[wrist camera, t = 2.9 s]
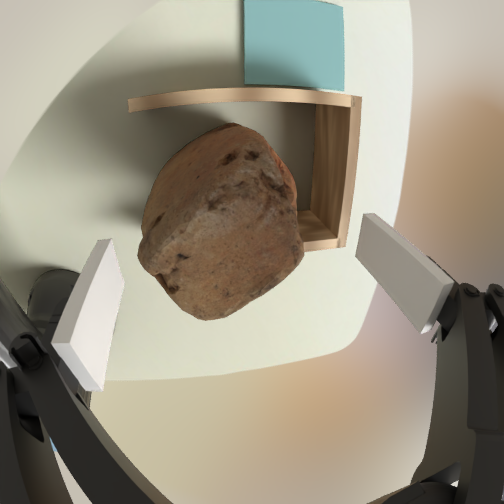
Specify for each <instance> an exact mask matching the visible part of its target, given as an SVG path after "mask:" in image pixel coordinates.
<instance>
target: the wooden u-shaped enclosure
mask: <svg viewBox="0 0 504 504" xmlns="http://www.w3.org/2000/svg"><path fill="white" fill-rule="evenodd" d="M236 101H279V102H301V103H316V113H315V140H314V159H313V176H312V190H311V203H310V210H304V211H297V221H298V226H299V232H300V233H301V235H302V237H303V240H304V252H308V251H316V250H324V249H332V248H340V247H345V246H346V240H347V234H348V228H349V222H350V215H351V208H352V201H353V194H354V186H355V178H356V169H357V159H358V148H359V136H360V122H361V103H362V97H359V96H353V95H346V94H339V93H331V92H323V91H313V90H301V89H285V88H216V89H200V90H189V91H179V92H170V93H162V94H155V95H149V96H142V97H137V98H131V99H128V110H129V113H131V112H136V111H142V110H149V109H155V108H162V107H170V106H179V105H189V104H200V103H214V102H236Z"/></svg>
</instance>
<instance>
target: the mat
mask: <svg viewBox="0 0 504 504" xmlns="http://www.w3.org/2000/svg"><path fill="white" fill-rule="evenodd" d="M244 84H257V85H286V86H301V87H312V88H322V89H330V90H338V91H344V22H343V7H341V6H337V5H333V4H328V3H324V2H319V1H314V0H244Z"/></svg>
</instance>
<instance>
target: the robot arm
mask: <svg viewBox="0 0 504 504" xmlns="http://www.w3.org/2000/svg"><path fill="white" fill-rule="evenodd" d="M355 257H356V258H357V259H358V260H359V261H360V262H361V263H362V265H363V266H364V267H365V268H366V269H367V270H368V271H369V273H370V274H371V275H372V276H373V277H374V278H375V279H376V281H377V282H378V283H379V284H380V285H381V286H382V288H383V289H384V290H385V291H386V292H387V294H388V295H389V296H390V297H391V298H392V299H393V301H394V302H395V303H396V304H397V306H398V307H399V308H400V309H401V311H402V312H403V313H404V314H405V316H406V317H407V318H408V319H409V321H410V322H411V323H412V324H413V326H414V327H415V328H416V329H417V331H418V332H419V333H420V334H422V333H425V332H427V331H430V330H431V329H432V327H433V326H434V324H435V322H436V320H437V321H438V322H439V323H440V325H439V327H438V329H437V331H436V333H435V334H434V336H433V338H432V341H431V342H432V343H433V341H434V340H435V338H437V342H436V344H437V367H436V381H435V392H434V401H433V409H432V416H431V423H430V429H429V434H428V440H427V445H426V449H425V454H424V458H423V460H422V462H421V464H420V465H419V466H418V468H417V469H416V471H415V473H414V475H413V478H412V480H411V483H410V485H408V486H406V487H404V488H401V489H399V490H397V491H395V492H392V493H390V494H387V495H385V496H383V497H381V498H378V499H376V500H374V501H372V502H370V503H367V504H504V289H503V288H502V287H501V286H499V285H497V284H490V285H489V287H488V289H487V291H486V293H485V292H484V293H482V292H480V291H479V290H478V289H477V288H475V287H474V286H473V285H470V284H468V283H462V284H460V285H459V284H458V283H457V282H456V281H455V280H454V279H453V278H452V277H451V276H450V275H449V274H448V273H447V272H446V271H445V270H443V269H441V267H440V266H439V265H438V264H436V262H435V261H433V260H432V259H431V258H430V257H428V256H427V255H425V254H424V253H422V252H421V251H420V250H419V249H418V248H417V247H415V246H414V245H413V244H412V243H411V242H409V241H408V240H407V239H406V238H405V237H403V236H402V235H401V234H400V233H399V232H397V231H396V230H395V229H394V228H392V227H391V226H390V225H389V224H387V223H386V222H385V221H384V220H382V219H381V218H380V217H378V216H377V215H376V214H375V213H369V214H363V218H362V224H361V229H360V235H359V240H358V245H357V250H356V255H355ZM124 286H125V283H124V279H123V276H122V273H121V270H120V267H119V263H118V260H117V256H116V253H115V249H114V246H113V242H112V238H111V239H104V240H98V241H97V243H96V245H95V247H94V248H93V250H92V252H91V254H90V256H89V258H88V260H87V262H86V264H85V266H84V268H83V270H82V272H81V274H78V273H75V272H71V271H67V270H53V271H49V272H46V273H44V274H43V275H41V276H40V277H39V278H38V279H37V281H36V282H35V284H34V286H33V288H32V289H31V292H30V295H29V300H28V310H27V315H26V314H25V312H24V311H23V310H22V308H21V307H20V306H19V304H18V303H17V302H16V300H15V299H14V297H13V296H12V295H11V293H10V292H9V290H8V289H7V287H6V286H5V284H4V283H3V281H2V280H1V278H0V504H73V502H72V499H71V497H70V495H69V492H68V490H67V488H66V485H65V483H64V480H63V478H62V475H61V472H60V469H59V466H58V463H57V461H56V458H55V454H54V451H57V452H58V453H59V455H60V457H61V458H62V460H63V461H64V463H65V465H66V466H67V468H68V469H69V471H70V473H71V474H72V476H73V477H74V479H75V480H76V482H77V483H78V485H79V486H80V487H81V489H82V490H83V492H84V493H85V494H86V496H87V497H88V498H89V500H90V501H91V502H92V504H173V503H172V502H171V501H169V500H168V499H167V498H166V497H165V496H164V495H163V494H162V493H161V492H160V491H159V490H158V489H157V488H156V487H155V486H153V485H152V484H151V483H150V482H149V481H148V479H147V478H146V477H145V476H144V475H143V474H142V473H141V472H140V471H139V470H138V469H137V468H136V467H135V466H134V465H133V463H132V462H131V461H130V460H129V459H128V458H127V457H126V456H125V454H124V453H123V452H122V451H121V450H120V449H119V447H118V446H117V445H116V444H115V442H114V441H113V440H112V439H111V437H110V436H109V435H108V433H107V432H106V431H105V429H104V428H103V427H102V425H101V424H100V423H99V421H98V420H97V418H96V417H95V416H94V414H93V413H92V411H91V410H90V408H89V407H90V400H91V392H92V391H100V392H103V388H104V381H105V375H106V368H107V363H108V357H109V352H110V346H111V341H112V337H113V334H114V329H115V325H116V318H117V314H118V310H119V305H120V301H121V297H122V293H123V290H124ZM495 321H497V323H498V326H497V327H496V329H495V331H494V332H493V333H492V331H491V328H492V326H493V324H494V323H495ZM458 480H459V481H458ZM455 481H458V486H457V487H455V486H452V485H451V484H452V483H453V482H455ZM502 495H503V497H502ZM501 499H502V500H501Z"/></svg>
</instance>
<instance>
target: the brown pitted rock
mask: <svg viewBox="0 0 504 504" xmlns="http://www.w3.org/2000/svg"><path fill="white" fill-rule="evenodd" d="M296 198H297V191H296V185H295V181H294V178H293V176H292V174H291V173H290V171H289V169H288V168H287V166H286V165H285V164H284V162H283V161H282V160H281V159H280V157H279V156H278V155H277V154H276V152H275V151H274V150H273V149H272V148H271V146H270V145H269V144H268V143H267V141H266V140H265V139H264V137H263V136H262V135H260V134H259V133H257V132H256V131H254V130H252V129H249V128H247V127H243V126H241V125H239V124H236V123H228V124H225V125H223V126H221V127H218V128H216V129H214V130H211V131H209V132H207V133H205V134H203V135H201V136H200V137H198V138H196V139H195V140H193V141H192V142H190V143H189V144H187V145H186V146H185V147H183V148H182V149H181V150H180V151H179V152H177V153H176V154H175V155H174V156H173V157H172V158H171V159H170V160H169V161H168V162H167V163H166V164H165V166H164V167H163V168H162V170H161V171H160V173H159V175H158V177H157V179H156V180H155V182H154V184H153V187H152V190H151V193H150V195H149V198H148V200H147V203H146V206H145V210H144V215H143V221H142V225H141V229H142V235H143V238H142V240H141V242H140V244H139V249H138V255H137V256H138V259H139V261H140V264H141V265H142V266H143V268H144V269H145V270H146V271H147V272H148V273H150V274H151V275H152V276H154V277H155V278H156V279H157V281H158V282H159V283H160V284H161V286H162V287H163V288H164V290H165V291H166V293H167V294H168V295H169V297H170V298H171V299H172V300H173V301H174V302H175V303H176V304H177V305H178V306H179V307H180V308H181V309H182V310H183V311H185V312H187V313H189V314H191V315H193V316H194V317H196V318H197V319H200V320H205V321H206V320H215V319H220V318H225V317H227V316H229V315H231V314H232V313H234V312H236V311H238V310H239V309H241V308H243V307H244V306H245V305H247V304H248V303H249V302H251V301H253V300H254V299H256V298H258V297H260V296H262V295H264V294H265V293H266V292H268V291H269V290H271V289H272V288H274V287H275V286H276V285H278V284H279V283H280V282H281V281H283V280H284V279H285V278H286V277H287V276H288V275H289V274H290V273H291V272H292V271H293V270H294V269H295V268H296V267H297V266H298V265H299V263H300V262H301V260H302V258H303V257H304V240H303V237H302V235H301V233H300V232H299V226H298V221H297V210H296V209H297V204H296Z"/></svg>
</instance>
